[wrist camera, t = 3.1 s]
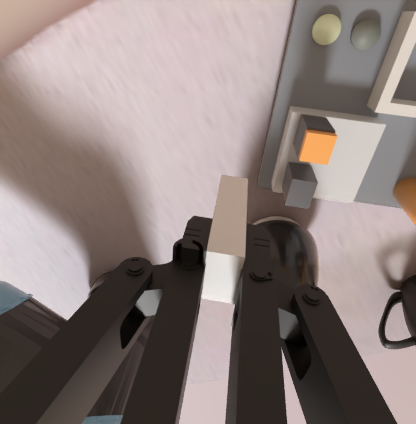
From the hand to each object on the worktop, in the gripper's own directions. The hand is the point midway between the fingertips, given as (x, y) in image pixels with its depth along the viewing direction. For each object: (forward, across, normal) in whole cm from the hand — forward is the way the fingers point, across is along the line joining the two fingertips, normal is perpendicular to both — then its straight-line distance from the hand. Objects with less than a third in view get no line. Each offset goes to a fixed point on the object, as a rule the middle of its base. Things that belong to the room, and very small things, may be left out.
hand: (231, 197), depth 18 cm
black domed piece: (+20, +7, -17) cm, 27 cm away
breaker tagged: (+15, +7, 0) cm, 17 cm away
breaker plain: (+15, +7, -5) cm, 18 cm away
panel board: (+20, +13, +1) cm, 24 cm away
